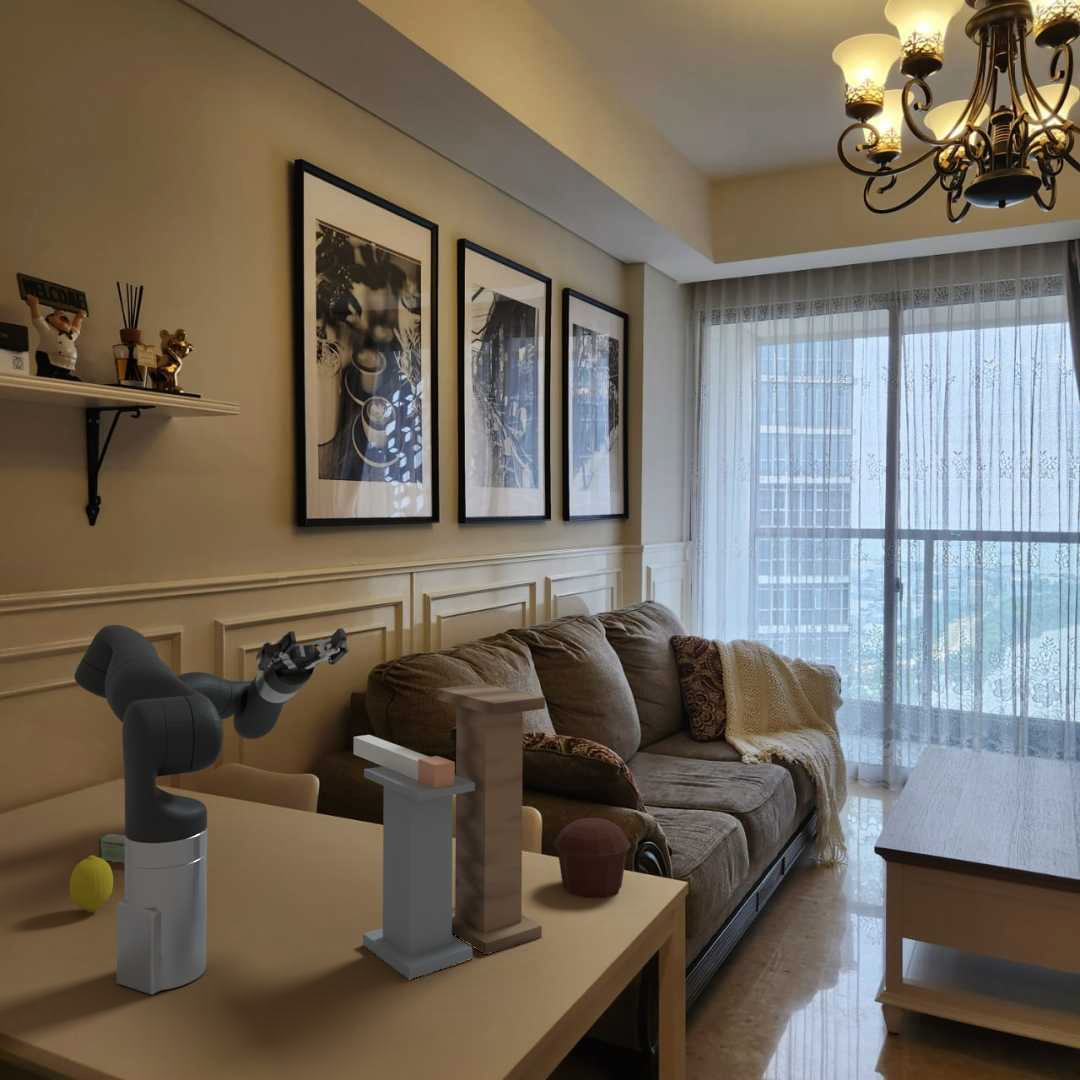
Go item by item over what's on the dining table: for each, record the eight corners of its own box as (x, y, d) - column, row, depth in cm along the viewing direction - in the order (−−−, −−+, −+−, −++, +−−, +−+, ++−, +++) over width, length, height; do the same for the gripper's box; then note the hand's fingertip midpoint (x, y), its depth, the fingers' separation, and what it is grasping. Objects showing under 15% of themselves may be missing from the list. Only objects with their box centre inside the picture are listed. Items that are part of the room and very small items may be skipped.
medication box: (97, 862, 150) (97, 838, 150) (109, 856, 153) (108, 832, 153) (163, 869, 148) (163, 844, 148) (173, 863, 150) (173, 838, 150)
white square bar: (352, 754, 129) (352, 734, 129) (370, 751, 131) (370, 731, 131) (434, 788, 112) (435, 765, 112) (454, 784, 114) (454, 761, 114)
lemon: (120, 905, 132) (121, 849, 132) (98, 921, 127) (99, 863, 127) (84, 903, 133) (84, 848, 133) (60, 919, 127) (60, 861, 127)
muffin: (611, 869, 148) (611, 807, 148) (643, 894, 138) (644, 827, 138) (542, 879, 144) (542, 815, 144) (570, 905, 133) (571, 836, 133)
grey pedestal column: (359, 942, 121) (360, 769, 121) (419, 925, 126) (420, 760, 126) (413, 983, 110) (415, 793, 110) (476, 962, 115) (478, 781, 115)
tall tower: (432, 921, 128) (433, 689, 127) (485, 905, 133) (487, 683, 133) (490, 958, 116) (491, 703, 116) (546, 939, 122) (548, 696, 122)
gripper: (239, 657, 158) (271, 616, 147) (317, 652, 167) (353, 612, 156) (247, 698, 155) (280, 659, 144) (326, 690, 164) (363, 653, 153)
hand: (318, 635), depth 150 cm, fingers open, 8 cm apart
